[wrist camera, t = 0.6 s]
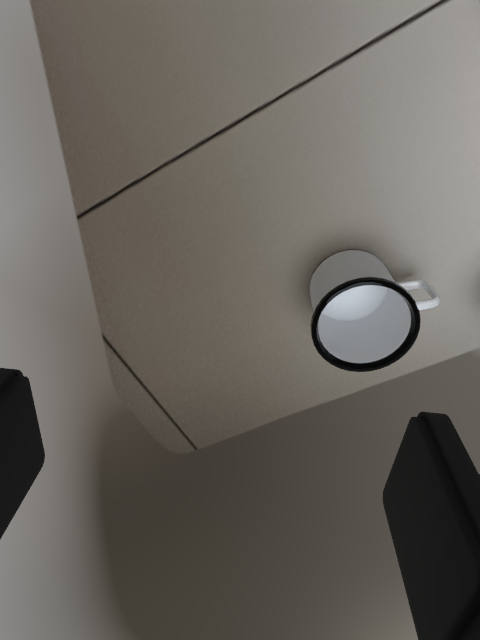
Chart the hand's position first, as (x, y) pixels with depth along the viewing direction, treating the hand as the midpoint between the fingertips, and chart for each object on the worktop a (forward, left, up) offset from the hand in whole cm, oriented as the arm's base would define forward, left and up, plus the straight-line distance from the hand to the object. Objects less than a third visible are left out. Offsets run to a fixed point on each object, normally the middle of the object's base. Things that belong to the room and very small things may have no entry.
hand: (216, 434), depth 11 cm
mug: (+15, +4, -35) cm, 38 cm away
